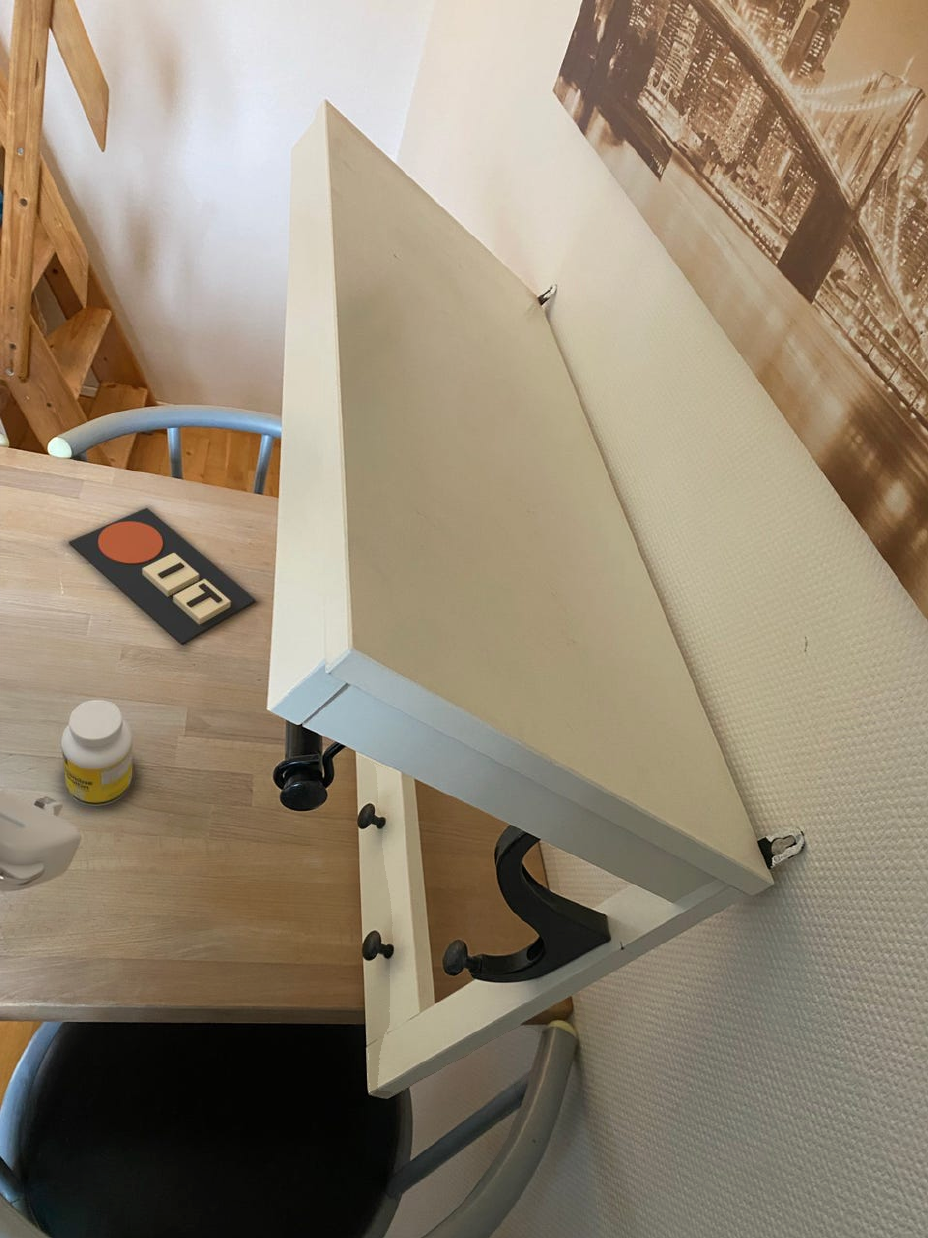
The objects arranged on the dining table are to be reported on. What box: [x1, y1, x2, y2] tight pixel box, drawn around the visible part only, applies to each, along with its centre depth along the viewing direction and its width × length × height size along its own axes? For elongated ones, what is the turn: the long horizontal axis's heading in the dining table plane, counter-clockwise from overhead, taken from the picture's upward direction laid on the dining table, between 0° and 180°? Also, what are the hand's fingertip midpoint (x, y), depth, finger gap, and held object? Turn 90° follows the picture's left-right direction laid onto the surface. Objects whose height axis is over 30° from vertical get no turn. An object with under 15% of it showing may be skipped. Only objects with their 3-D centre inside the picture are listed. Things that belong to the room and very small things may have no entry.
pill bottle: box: [60, 699, 133, 806], centre depth 83 cm, size 6×6×12 cm
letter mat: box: [68, 507, 257, 646], centre depth 107 cm, size 22×12×2 cm, turn 52°
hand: (1, 783), depth 67 cm, fingers open, 8 cm apart
